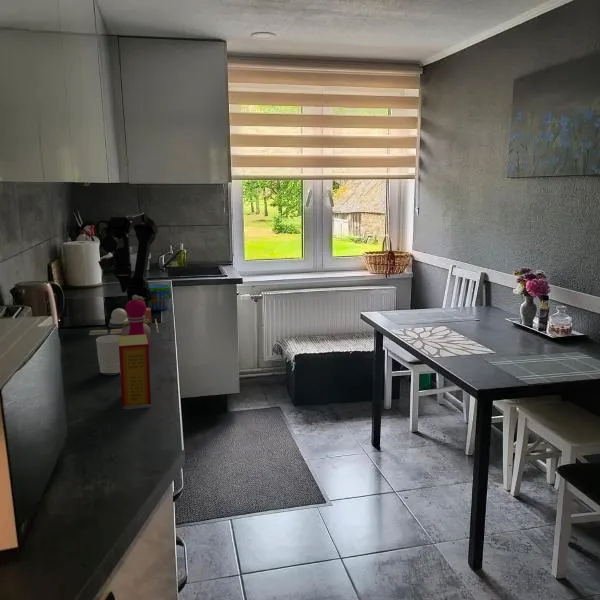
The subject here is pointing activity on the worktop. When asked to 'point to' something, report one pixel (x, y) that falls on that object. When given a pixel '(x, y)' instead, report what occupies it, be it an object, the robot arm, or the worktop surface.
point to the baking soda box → (134, 370)
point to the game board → (113, 331)
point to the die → (148, 315)
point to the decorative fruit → (127, 328)
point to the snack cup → (159, 296)
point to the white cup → (108, 353)
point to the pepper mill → (136, 316)
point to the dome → (119, 316)
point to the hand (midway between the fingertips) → (123, 290)
